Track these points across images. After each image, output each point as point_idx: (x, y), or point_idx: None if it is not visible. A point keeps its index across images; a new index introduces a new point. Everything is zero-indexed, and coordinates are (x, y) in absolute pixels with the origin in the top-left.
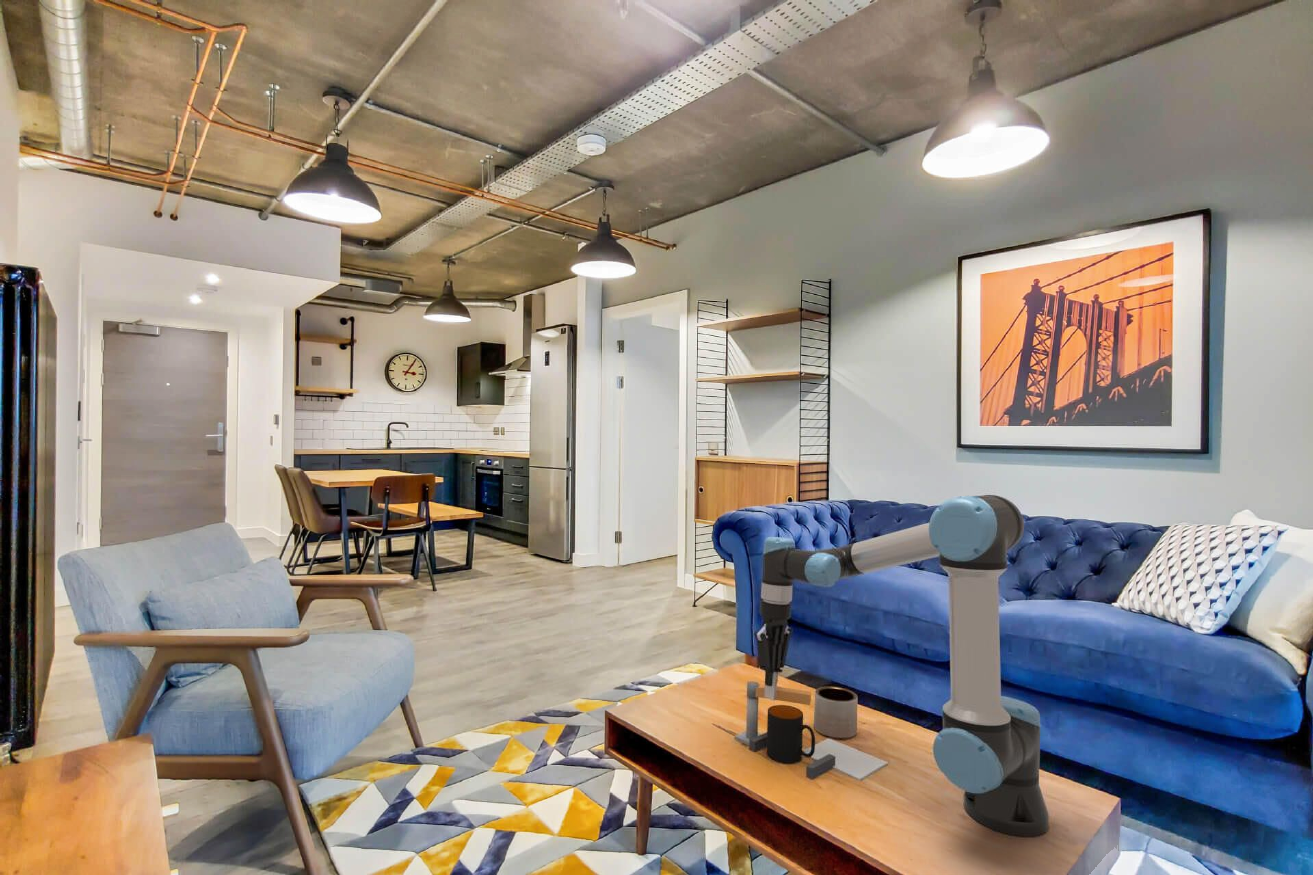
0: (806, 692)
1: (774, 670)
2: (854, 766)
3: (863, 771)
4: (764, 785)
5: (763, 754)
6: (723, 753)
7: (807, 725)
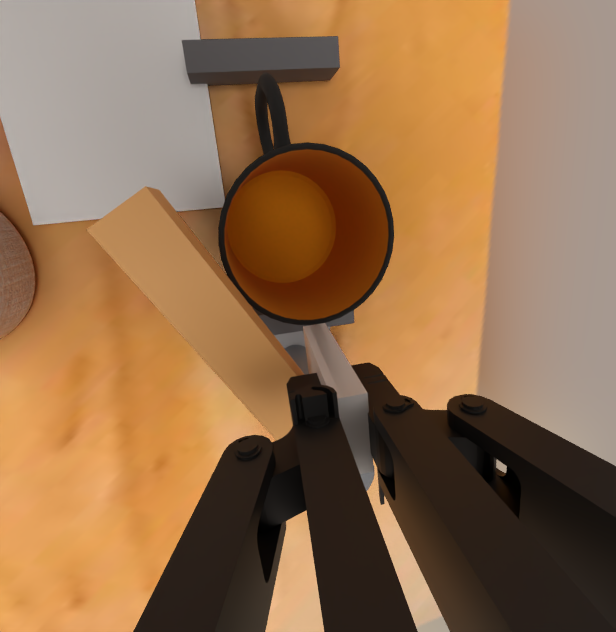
0: (132, 235)
1: (378, 408)
2: None
3: None
4: (467, 128)
5: None
6: (418, 332)
7: (278, 106)
